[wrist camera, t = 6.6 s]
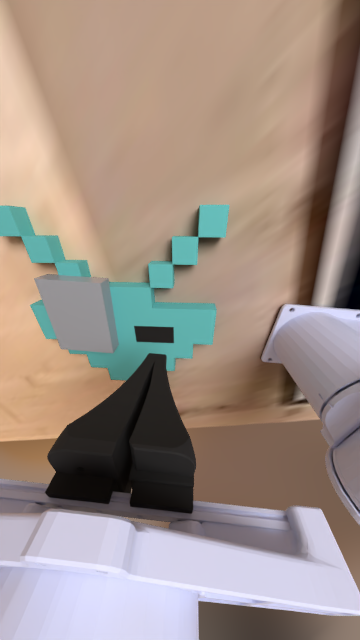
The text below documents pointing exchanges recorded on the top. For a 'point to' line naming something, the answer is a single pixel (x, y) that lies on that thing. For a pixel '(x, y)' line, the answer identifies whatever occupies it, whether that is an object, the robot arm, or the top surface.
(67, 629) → the robot arm
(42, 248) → the alien figure
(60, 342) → the tile
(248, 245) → the top surface
